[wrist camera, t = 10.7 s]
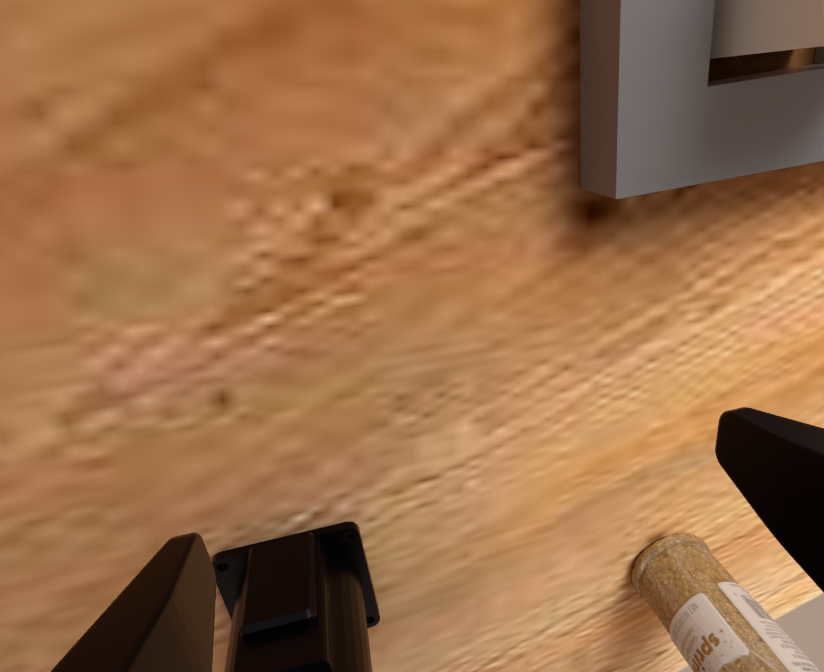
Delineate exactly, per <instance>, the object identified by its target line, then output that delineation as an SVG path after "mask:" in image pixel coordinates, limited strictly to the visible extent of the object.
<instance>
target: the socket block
mask: <svg viewBox="0 0 824 672" xmlns="http://www.w3.org/2000/svg"><path fill="white" fill-rule="evenodd" d="M714 6H715V0H580V188H581V189H584V190H587V191H590V192H594V193H597V194H600V195H603V196H607V197H610V198H613V199H621V198H626V197H631V196H637V195H642V194H648V193H653V192H659V191H664V190H670V189H675V188H680V187H686V186H691V185H697V184H702V183H708V182H713V181H719V180H724V179H729V178H735V177H740V176H746V175H751V174H757V173H762V172H767V171H773V170H778V169H784V168H789V167H795V166H800V165H806V164H811V163H816V162H822V161H824V46H821V47H816V53H815V59H814V64H811V65H805V66H799V67H793V68H787V69H780V70H774V71H768V72H762V73H756V74H750V75H743V76H737V77H731V78H725V79H719V80H712V81H708V73H709V62H710V51H711V40H712V29H713V18H714Z"/></svg>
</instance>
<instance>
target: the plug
mask: <svg viewBox="0 0 824 672" xmlns="http://www.w3.org/2000/svg"><path fill="white" fill-rule="evenodd" d="M821 46H824V0H715V6H714V18H713V29H712V40H711V51H710V59H712V58H721V57H730V56H739V55H748V54H757V53H766V52H775V51H784V50H793V49H803V48H812V47H821Z"/></svg>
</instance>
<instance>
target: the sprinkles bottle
mask: <svg viewBox="0 0 824 672" xmlns="http://www.w3.org/2000/svg"><path fill="white" fill-rule="evenodd" d="M632 582H633V584H634V586H635V588H636V590H637V591H638V592H639V593H640V594H641V595H642V596H643V597H644V598H645V599H646V601H647V602H648V604H649V605H650V606H651V607H652V609H653V611H654V612H655V614H656V615H657V616H658V618H659V620H660V621H661V622H662V624H663V625H664V627H665V628H666V629H667V631H668V632H669V634H670V637H671V639H672V641H673V642H674V644H675V645H676V647H677V648H678V650H679V651H680V653H681V654H682V656H683V657H684V659H685V660H686V661H687V663H688V664H689V666H690V667H691V669H692V670H693V671H694V672H820V671H819V670H818V669H817V668H816V666H815V665H814V664H813V663H812V662H811V661H810V660H809V659H808V658H807V657H806V655H804V653H803V652H802V651H801V650H800V649H799V648H798V647H797V645H795V643H794V642H793V641H792V640H791V639H790V638H789V637H788V635H786V633H785V632H784V631H783V630H782V629H781V628H780V626H779V625H778V624H777V623H776V622H775V621H774V620H773V619H772V618H771V616H770V615H769V614H768V613H767V612H766V611H765V610H764V609H763V608H762V606H761V605H760V604H759V603H758V602H757V601H756V600H755V599H754V598H753V597H752V595H751V594H750V593H749V592H748V591H747V590H746V589H745V588H744V587H743V586H741V585H739V584H738V583H737V581H736V580H735V579H734V578H733V577H732V576H731V575H730V574H729V573H728V572H727V571H726V569H725V568H724V567H723V566H722V565H721V564H720V563H719V561H718V560H717V559H716V558H715V557H714V556H713V555H712V554H711V552H710V550H709V548H708V546H707V545H706V543H705V542H704V541H703V540H702V539H700V538H698V537H696V536H695V535H691V534H684V533H682V534H675V535H670V536H666V537H664V538H663V539H660V540H657V541H656V542H655V543H653V544H652V545H650V546H649V547H648V548H647V549H645V550H644V552H643V553H642V554H641V555H640V556H639V558H638V559H637V560H636V562H635V566H634V568H633V571H632Z"/></svg>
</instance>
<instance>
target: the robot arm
mask: <svg viewBox="0 0 824 672" xmlns="http://www.w3.org/2000/svg"><path fill="white" fill-rule="evenodd" d="M715 452H716V457H717V459H718V462H719V463H720V465H721V466H722V468H723V469H724V470H725V472H726V473H727V474H728V476H729V477H730V478H731V480H732V481H733V483H734V484H735V485H736V487H737V488H738V489H739V491H740V492H741V493H742V495H743V496H744V497H745V499H746V500H747V501H748V503H749V504H750V505H751V507H752V508H753V509H754V511H755V512H756V513H757V515H758V516H759V517H760V519H761V520H762V521H763V523H764V524H765V525H766V527H767V528H768V529H769V531H770V532H771V533H772V534H773V536H774V537H775V538H776V539H777V540H778V542H779V543H780V544H781V545H782V546H783V547H784V549H785V550H786V551H787V552H788V553H789V554H790V555H791V557H792V558H793V559H794V560H795V561H796V562H797V563H798V564H799V565H800V567H801V568H802V569H803V570H804V571H805V572H806V573H807V574H808V576H809V577H810V578H811V579H812V580H813V581H814V582H815V583H816V584H817V586H818V587H819V588H820V589H821V590H822V591H823V592H824V428H820V427H816V426H813V425H809V424H806V423H802V422H798V421H795V420H791V419H788V418H784V417H780V416H777V415H773V414H770V413H766V412H762V411H759V410H755V409H752V408H747V407H743V408H738V409H734V410H729V411H726V412H724V413H722V415H721V416H720V419H719V424H718V432H717V440H716V447H715ZM349 532H351V534H349V535H345V533H349ZM220 563H226V564H223V565H222V564H220ZM216 583H217V586H218V588H219V590H220V593H221V595H222V598H223V600H224V602H225V605H226V607H227V610H228V612H229V614H230V617H231V619H232V625H231V632H230V639H229V646H228V653H227V659H226V666H225V672H372V665H371V656H370V647H369V639H368V630H367V628H369V627H372V626H375V625H376V624H378V622H379V621H380V615H379V609H378V605H377V601H376V597H375V593H374V588H373V584H372V580H371V576H370V572H369V568H368V564H367V559H366V555H365V551H364V547H363V543H362V539H361V535H360V531H359V527H358V525H357V524H355V523H354V522H344V523H339V524H335V525H331V526H327V527H323V528H319V529H314V530H310V531H306V532H302V533H298V534H293V535H289V536H285V537H281V538H277V539H273V540H268V541H264V542H260V543H256V544H252V545H247V546H243V547H239V548H235V549H231V550H227V551H222V552H219V553H217V554H216V555H214V556H213V559H212V562H211V560H210V557H209V555H208V552H207V549H206V547H205V544H204V542H203V539H202V537H201V536H200V535H199V534H198V533H189V534H185V535H181V536H176V537H173V538H171V539H170V540H168V541H167V542H166V543H165V545H164V546H163V547H162V548H161V549H160V550H159V551H158V552H157V553H156V555H155V556H154V557H153V558H152V559H151V560H150V561H149V562H148V563H147V565H146V566H145V567H144V568H143V569H142V570H141V571H140V572H139V574H138V575H137V576H136V577H135V578H134V579H133V580H132V581H131V582H130V584H129V585H128V586H127V587H126V588H125V589H124V590H123V591H122V592H121V594H120V595H119V596H118V597H117V598H116V599H115V600H114V601H113V603H112V604H111V605H110V606H109V607H108V608H107V609H106V610H105V611H104V613H103V614H102V615H101V616H100V617H99V618H98V619H97V620H96V621H95V623H94V624H93V625H92V626H91V627H90V628H89V629H88V630H87V632H86V633H85V634H84V635H83V636H82V637H81V638H80V639H79V640H78V642H77V643H76V644H75V645H74V646H73V647H72V648H71V649H70V650H69V652H68V653H67V654H66V655H65V656H64V657H63V658H62V659H61V660H60V662H59V663H58V664H57V665H56V666H55V667H54V668H53V669H52V671H51V672H212V658H213V638H214V619H215V599H216ZM369 616H370V617H369Z"/></svg>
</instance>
